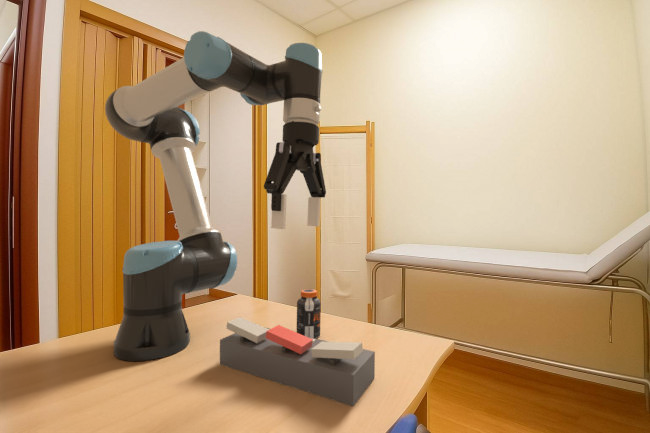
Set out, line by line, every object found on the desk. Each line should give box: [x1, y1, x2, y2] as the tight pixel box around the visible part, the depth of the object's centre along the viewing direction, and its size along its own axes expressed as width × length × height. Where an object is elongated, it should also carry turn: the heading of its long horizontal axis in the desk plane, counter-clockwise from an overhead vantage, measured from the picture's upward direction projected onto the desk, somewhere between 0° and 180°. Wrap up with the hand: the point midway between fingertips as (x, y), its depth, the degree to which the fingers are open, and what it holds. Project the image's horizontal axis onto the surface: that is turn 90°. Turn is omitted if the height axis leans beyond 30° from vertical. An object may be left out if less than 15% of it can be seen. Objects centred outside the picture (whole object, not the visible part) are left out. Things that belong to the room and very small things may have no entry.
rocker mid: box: [266, 324, 313, 354], centre depth 61 cm, size 8×4×1 cm, turn 62°
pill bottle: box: [296, 288, 322, 339], centre depth 81 cm, size 6×6×11 cm
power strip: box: [219, 326, 376, 407], centre depth 63 cm, size 29×10×6 cm, turn 62°
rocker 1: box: [226, 316, 269, 343], centre depth 66 cm, size 8×4×1 cm, turn 62°
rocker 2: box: [311, 341, 364, 359], centre depth 56 cm, size 8×4×1 cm, turn 62°
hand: (297, 227), depth 68 cm, fingers open, 13 cm apart
